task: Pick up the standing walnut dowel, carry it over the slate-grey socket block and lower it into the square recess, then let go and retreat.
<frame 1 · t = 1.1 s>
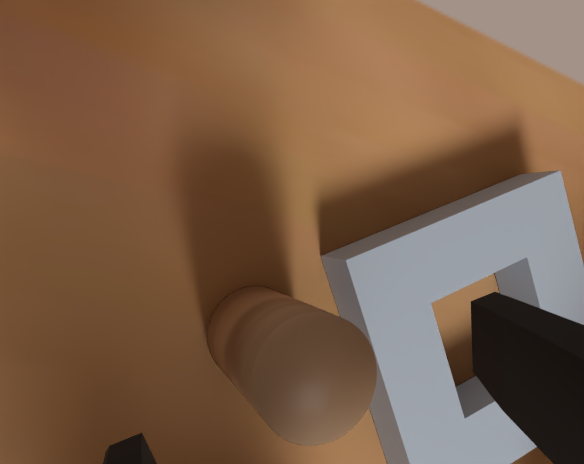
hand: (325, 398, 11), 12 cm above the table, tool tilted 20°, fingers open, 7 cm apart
socket block: (460, 325, 26), on the table
dowel: (253, 332, 23), on the table
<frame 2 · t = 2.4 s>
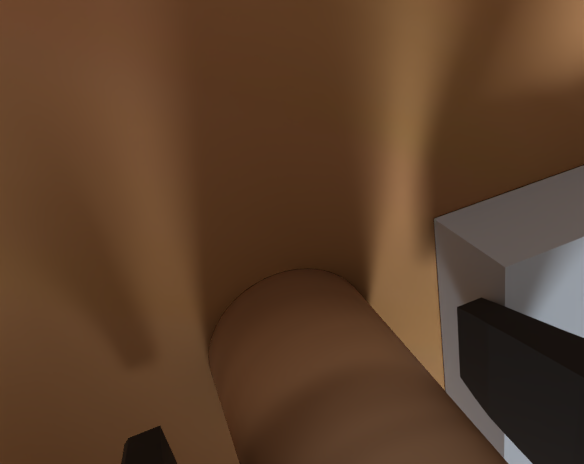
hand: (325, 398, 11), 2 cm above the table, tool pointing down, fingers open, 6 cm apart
dowel: (292, 343, 13), on the table
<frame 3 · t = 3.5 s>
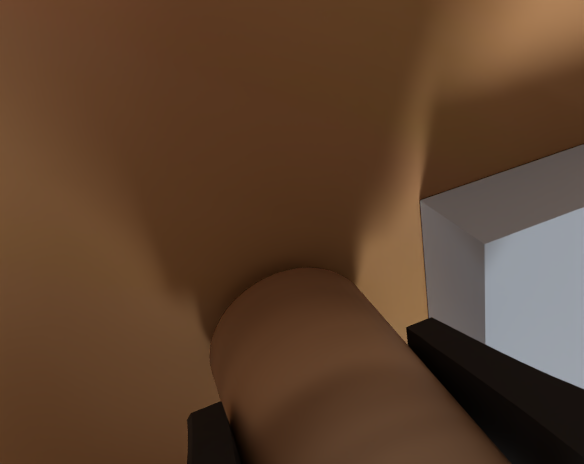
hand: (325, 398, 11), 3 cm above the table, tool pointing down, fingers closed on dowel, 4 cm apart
dowel: (293, 342, 13), point 1 cm above the table, touching gripper
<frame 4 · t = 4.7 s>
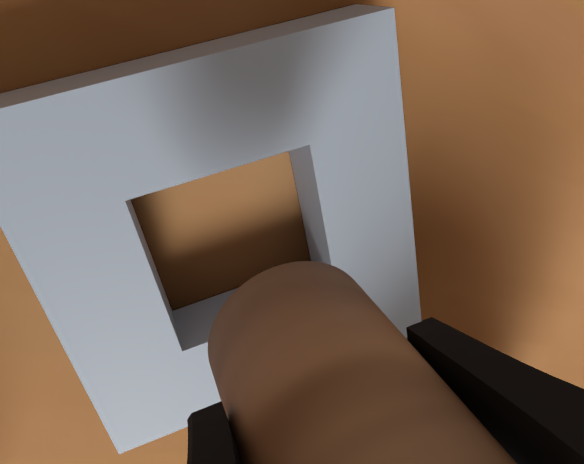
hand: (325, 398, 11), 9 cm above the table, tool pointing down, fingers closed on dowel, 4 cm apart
socket block: (225, 221, 19), on the table
dowel: (291, 336, 13), point 7 cm above the table, touching gripper
when the fingers open (3 cm above the table, at t = 6.5 s): dowel drops 1 cm, resting in socket block.
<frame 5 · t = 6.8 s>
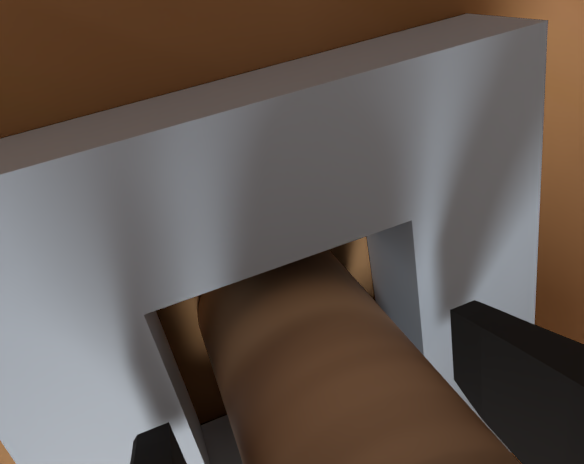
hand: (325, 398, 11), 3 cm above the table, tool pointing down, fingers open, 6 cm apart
socket block: (275, 309, 14), on the table
dowel: (274, 304, 14), resting in socket block
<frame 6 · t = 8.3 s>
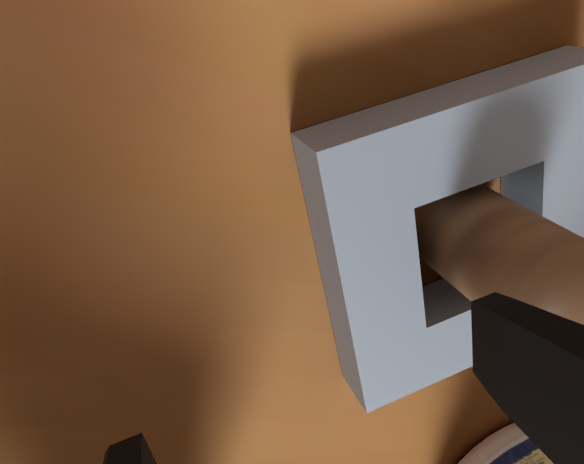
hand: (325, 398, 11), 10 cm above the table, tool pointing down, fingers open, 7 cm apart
socket block: (446, 222, 23), on the table
dowel: (446, 219, 23), resting in socket block
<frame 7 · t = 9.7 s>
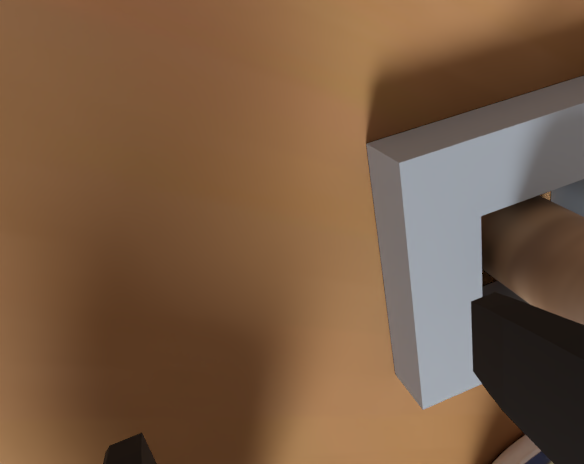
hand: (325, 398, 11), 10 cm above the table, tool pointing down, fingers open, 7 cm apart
socket block: (499, 229, 24), on the table
dowel: (499, 226, 24), resting in socket block
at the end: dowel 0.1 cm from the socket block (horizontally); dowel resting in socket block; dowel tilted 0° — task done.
